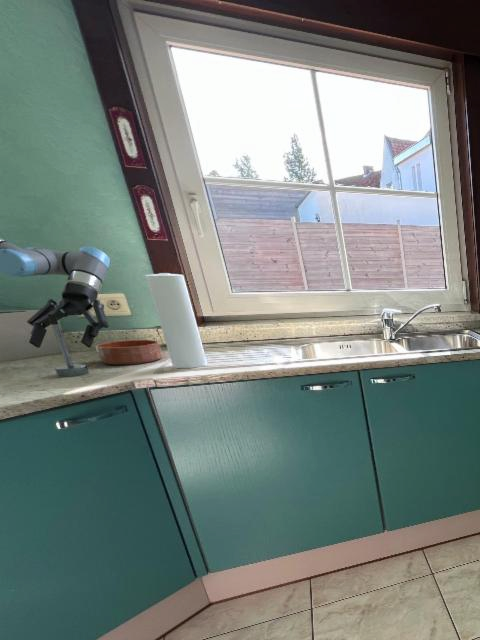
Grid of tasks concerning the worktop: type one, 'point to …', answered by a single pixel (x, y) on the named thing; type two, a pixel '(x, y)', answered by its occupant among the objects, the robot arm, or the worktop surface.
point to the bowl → (129, 352)
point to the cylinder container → (177, 320)
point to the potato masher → (66, 354)
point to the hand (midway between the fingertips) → (60, 345)
